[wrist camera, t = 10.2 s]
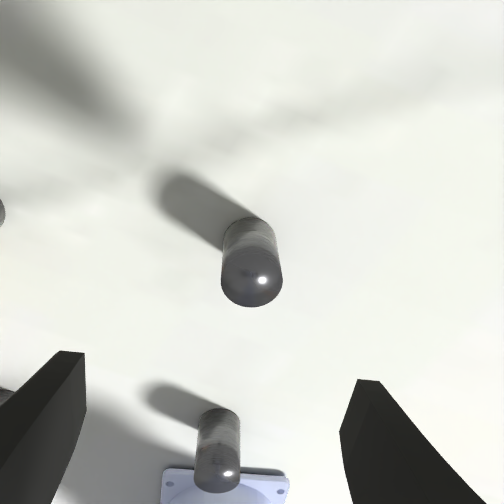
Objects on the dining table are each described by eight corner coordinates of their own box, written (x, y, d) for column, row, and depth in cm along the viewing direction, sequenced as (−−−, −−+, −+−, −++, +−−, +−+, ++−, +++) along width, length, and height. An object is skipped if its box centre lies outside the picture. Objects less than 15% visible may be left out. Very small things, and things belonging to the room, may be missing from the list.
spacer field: (237, 438, 26) (236, 495, 23) (-14, 418, 25) (-50, 475, 22) (280, 221, 20) (287, 258, 16) (-58, 177, 18) (-119, 209, 15)
